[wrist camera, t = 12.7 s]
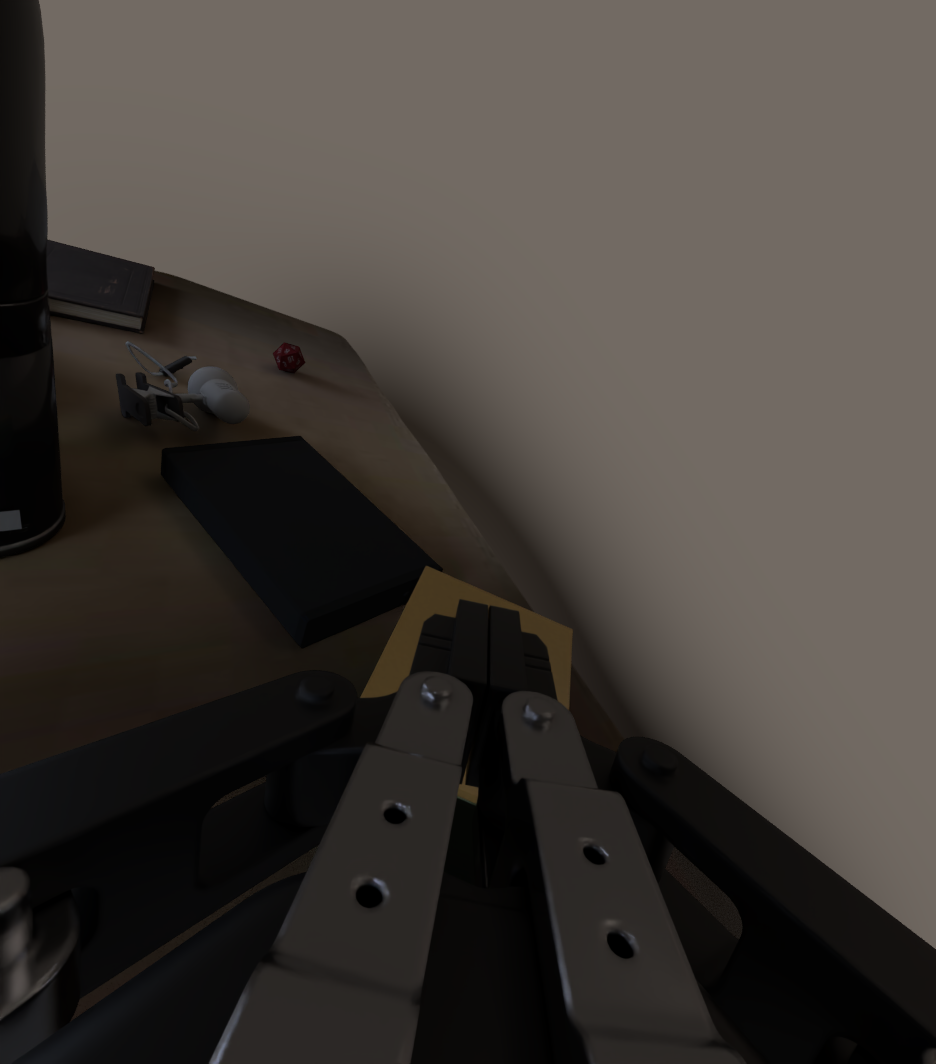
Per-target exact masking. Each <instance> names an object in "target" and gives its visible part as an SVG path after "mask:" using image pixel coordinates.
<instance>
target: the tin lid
mask: <svg viewBox="0 0 936 1064" xmlns="http://www.w3.org/2000/svg"><path fill="white" fill-rule="evenodd" d="M459 599H463V600H468V601H472V602H477V603H482V604H487V605H488V609H489V607H490V605H492V606H497V607H502V608H507V609H511V610H516V611H519V614H520V623H521V631H522V632H527V633H532V634H537V636H538V637H539V638H540V639H541V640H542V641H543V643H544V644H545V645H546V646H547V649H548V654H549V661H550V664H551V672H552V674H553V679H554V684H555V689H556V694H557V699H558V702H560V703H561V704H562V705H564V706H565V707H566V708H567V709H568V710H569V698H570V677H571V655H572V635H573V633H572V632H573V629H570V628H568V627H566V626H564V625H561V624H559V623H557V622H554V621H552V620H550V619H548V618H545V617H543V616H540V615H539V614H536V613H534V612H532V611H529V610H527V609H525V608H523V607H520V606H518V605H516V604H513V603H511V602H509V601H506V600H504V599H502V598H500V597H497V596H495V595H493V594H490V593H488V592H486V591H484V590H481V589H479V588H477V587H474V586H472V585H470V584H467V583H465V582H463V581H461V580H458V579H456V578H454V577H451V576H449V575H447V574H445V573H442V572H440V571H438V570H435V569H433V568H431V567H428V566H425V569H424V571H423V573H422V575H421V577H420V579H419V581H418V583H417V585H416V587H415V589H414V591H413V593H412V595H411V597H410V599H409V601H408V603H407V605H406V607H405V609H404V611H403V613H402V615H401V617H400V619H399V621H398V623H397V625H396V627H395V629H394V631H393V633H392V635H391V637H390V639H389V641H388V643H387V645H386V647H385V649H384V651H383V653H382V655H381V657H380V659H379V661H378V663H377V665H376V667H375V669H374V671H373V673H372V675H371V677H370V679H369V681H368V683H367V685H366V687H365V689H364V691H363V693H362V695H361V697H360V698H372V697H381V696H386V695H390V694H392V693H395V692H397V691H398V689H399V687H400V684H401V683H402V681H403V680H404V679H405V678H406V677H408V676H409V673H410V670H411V666H412V662H413V659H414V655H415V652H416V648H417V644H418V641H419V637H420V634H421V630H422V626H423V623H424V621H425V620H427V619H428V618H429V617H431V616H432V615H434V614H440V615H444V616H449V617H454V618H455V617H456V612H457V607H458V603H459ZM465 780H466V770H465V774H464V778H463V782H462V784H459V789H458V795H457V796H459V797H461V798H464V799H466V800H468V801H471V802H473V803H475V804H476V803H477V799H478V787H473V786H468V785H465Z"/></svg>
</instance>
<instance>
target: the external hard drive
mask: <svg viewBox="0 0 936 1064" xmlns="http://www.w3.org/2000/svg"><path fill="white" fill-rule="evenodd" d="M161 475H162V477H163V478H164V479H165V480H166V482H167V483H168V484H169V485H170V487H171V488H172V489H173V490H174V491H175V493H176V494H177V495H178V496H179V498H180V499H181V500H182V501H183V503H184V504H185V505H186V506H187V508H188V509H189V510H190V511H191V512H192V514H193V515H194V516H195V517H196V519H197V520H198V521H199V522H200V524H201V525H202V526H203V527H204V529H205V530H206V531H207V532H208V534H209V535H210V536H211V537H212V538H213V540H214V541H215V542H216V543H217V545H218V546H219V547H220V548H221V550H222V551H223V552H224V553H225V555H226V556H227V557H228V558H229V560H230V561H231V562H232V563H233V564H234V566H235V567H236V568H237V569H238V571H239V572H240V573H241V574H242V576H243V577H244V578H245V579H246V581H247V582H248V583H249V584H250V585H251V587H252V588H253V589H254V590H255V592H256V593H257V594H258V595H259V597H260V598H261V599H262V600H263V602H264V603H265V604H266V605H267V607H268V608H269V609H270V610H271V611H272V613H273V614H274V615H275V616H276V618H277V619H278V620H279V621H280V623H281V624H282V625H283V626H284V628H285V629H286V630H287V631H288V633H289V634H290V635H291V636H292V637H293V639H294V640H295V641H296V642H297V644H298V645H299V646H300V647H301V648H304V647H306V646H309V645H311V644H313V643H316V642H318V641H320V640H322V639H325V638H327V637H329V636H332V635H334V634H336V633H339V632H341V631H343V630H346V629H348V628H350V627H352V626H355V625H357V624H359V623H362V622H364V621H366V620H369V619H371V618H373V617H375V616H378V615H380V614H382V613H385V612H387V611H389V610H392V609H394V608H396V607H399V606H401V605H403V604H405V603H408V601H409V599H410V597H411V595H412V593H413V591H414V589H415V587H416V585H417V583H418V581H419V579H420V577H421V575H422V573H423V571H424V569H425V566H428V567H431V568H433V569H435V570H438V571H440V572H442V570H443V569H442V568H441V567H440V566H439V565H438V564H437V563H436V562H435V561H434V560H433V559H432V558H431V557H429V556H428V555H427V554H426V553H425V552H424V551H423V550H422V549H421V548H420V547H419V546H418V545H417V544H416V543H414V542H413V541H412V540H411V539H410V538H409V537H408V536H407V535H406V534H405V533H404V532H403V531H402V530H401V529H399V528H398V527H397V526H396V525H395V524H394V523H393V522H392V521H391V520H390V519H389V518H388V517H387V516H386V515H384V514H383V513H382V512H381V511H380V510H379V509H378V508H377V507H376V506H375V505H374V504H373V503H372V502H371V501H369V500H368V499H367V498H366V497H365V496H364V495H363V494H362V493H361V492H360V491H359V490H358V489H357V488H356V487H354V486H353V485H352V484H351V483H350V482H349V481H348V480H347V479H346V478H345V477H344V476H343V475H342V474H341V473H340V472H338V471H337V470H336V469H335V468H334V467H333V466H332V465H331V464H330V463H329V462H328V461H327V460H326V459H325V458H323V457H322V456H321V455H320V454H319V453H318V452H317V451H316V450H315V449H314V448H313V447H312V446H311V445H310V444H308V443H307V442H306V441H305V440H304V439H303V438H302V437H301V436H292V437H282V438H271V439H260V440H249V441H238V442H227V443H216V444H205V445H195V446H184V447H173V448H164V449H163V450H162V461H161Z"/></svg>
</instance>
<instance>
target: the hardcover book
mask: <svg viewBox="0 0 936 1064" xmlns="http://www.w3.org/2000/svg"><path fill="white" fill-rule="evenodd" d="M154 270H155V268H154V267H151V266H147V265H143V264H139V263H136V262H132V261H127V260H124V259H120V258H116V257H112V256H109V255H105V254H101V253H97V252H93V251H89V250H85V249H82V248H78V247H74V246H70V245H66V244H62V243H58V242H55V241H51V240H47V276H48V292H49V307H50V315H55V316H60V317H65V318H70V319H75V320H80V321H84V322H89V323H94V324H99V325H104V326H109V327H114V328H119V329H124V330H128V331H133V332H138V333H144V328H145V323H146V319H147V314H148V309H149V304H150V299H151V294H152V290H153V285H154V280H152V279H153V274H154Z"/></svg>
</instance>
